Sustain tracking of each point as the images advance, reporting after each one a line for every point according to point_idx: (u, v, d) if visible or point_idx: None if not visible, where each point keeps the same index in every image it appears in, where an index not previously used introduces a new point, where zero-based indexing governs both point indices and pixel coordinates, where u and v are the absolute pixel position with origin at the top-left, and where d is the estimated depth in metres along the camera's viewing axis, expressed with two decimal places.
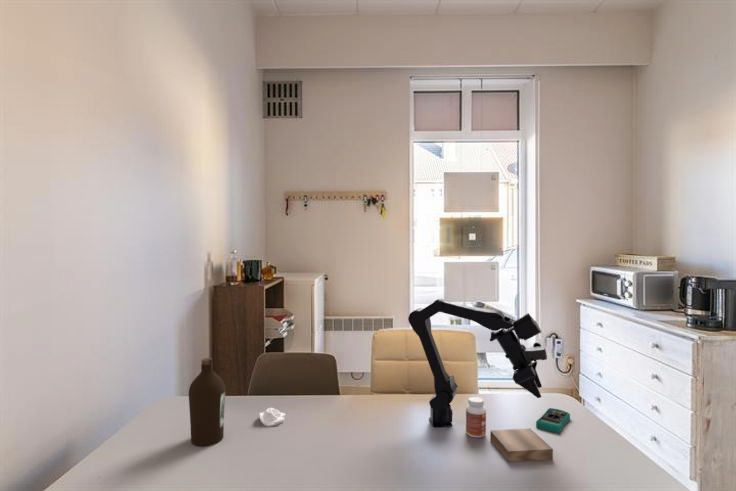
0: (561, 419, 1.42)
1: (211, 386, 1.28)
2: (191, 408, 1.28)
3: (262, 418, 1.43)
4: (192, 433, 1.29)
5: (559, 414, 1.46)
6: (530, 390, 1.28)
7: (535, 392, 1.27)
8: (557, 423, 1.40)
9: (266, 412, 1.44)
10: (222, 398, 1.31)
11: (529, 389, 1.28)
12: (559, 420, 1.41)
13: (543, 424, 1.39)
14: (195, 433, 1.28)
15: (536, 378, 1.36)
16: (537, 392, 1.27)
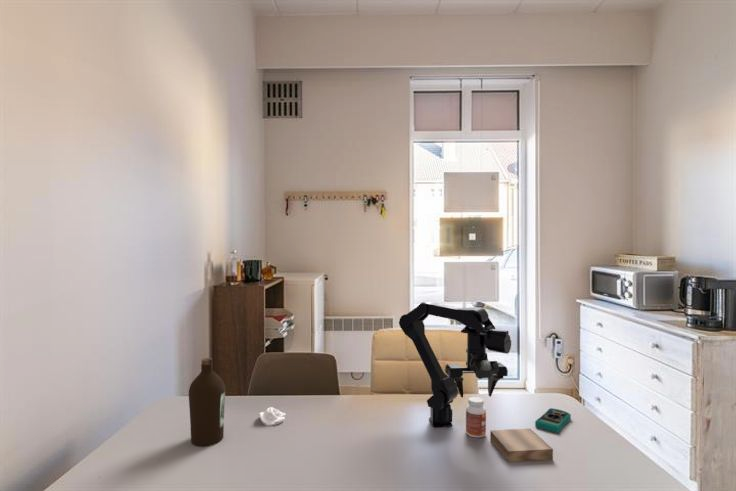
0: (561, 419, 1.42)
1: (211, 386, 1.28)
2: (191, 408, 1.28)
3: (262, 417, 1.43)
4: (192, 433, 1.29)
5: (559, 414, 1.46)
6: (457, 386, 1.36)
7: (460, 391, 1.35)
8: (556, 423, 1.40)
9: (266, 412, 1.45)
10: (222, 398, 1.31)
11: (457, 384, 1.36)
12: (559, 420, 1.41)
13: (542, 424, 1.39)
14: (195, 433, 1.28)
15: (490, 387, 1.36)
16: (460, 392, 1.35)
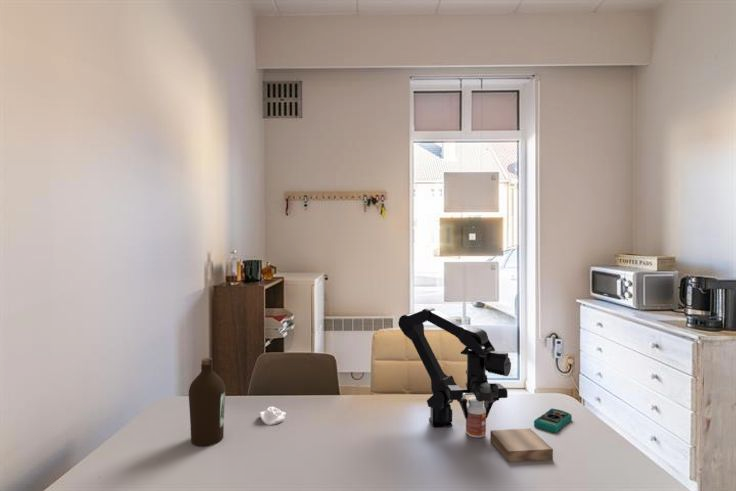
0: (560, 419, 1.42)
1: (211, 386, 1.28)
2: (191, 408, 1.28)
3: (263, 417, 1.44)
4: (192, 433, 1.29)
5: (560, 414, 1.46)
6: (461, 407, 1.37)
7: (464, 412, 1.36)
8: (555, 423, 1.40)
9: (267, 411, 1.45)
10: (222, 398, 1.31)
11: (461, 406, 1.37)
12: (558, 420, 1.41)
13: (540, 423, 1.40)
14: (195, 433, 1.28)
15: (486, 409, 1.36)
16: (464, 413, 1.35)
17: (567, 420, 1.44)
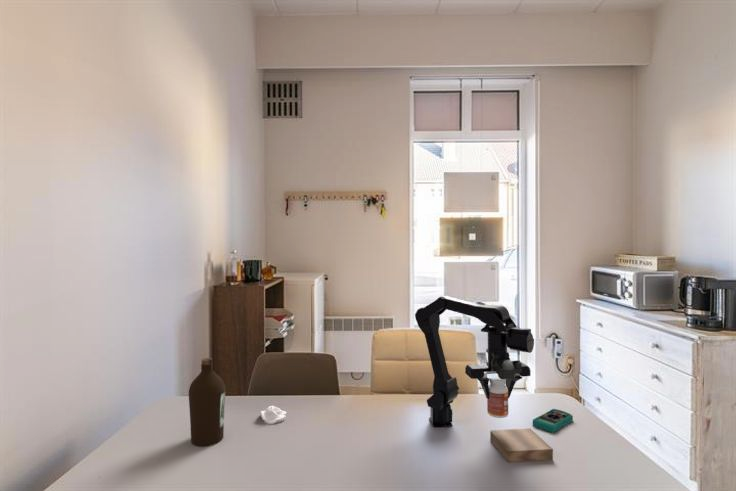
0: (560, 420, 1.42)
1: (211, 386, 1.28)
2: (191, 408, 1.28)
3: (263, 416, 1.45)
4: (192, 433, 1.29)
5: (560, 415, 1.46)
6: (482, 387, 1.31)
7: (485, 392, 1.31)
8: (554, 423, 1.40)
9: (267, 410, 1.46)
10: (222, 398, 1.31)
11: (482, 386, 1.32)
12: (557, 420, 1.41)
13: (539, 423, 1.40)
14: (195, 433, 1.28)
15: (508, 388, 1.31)
16: (485, 393, 1.30)
17: (567, 421, 1.43)
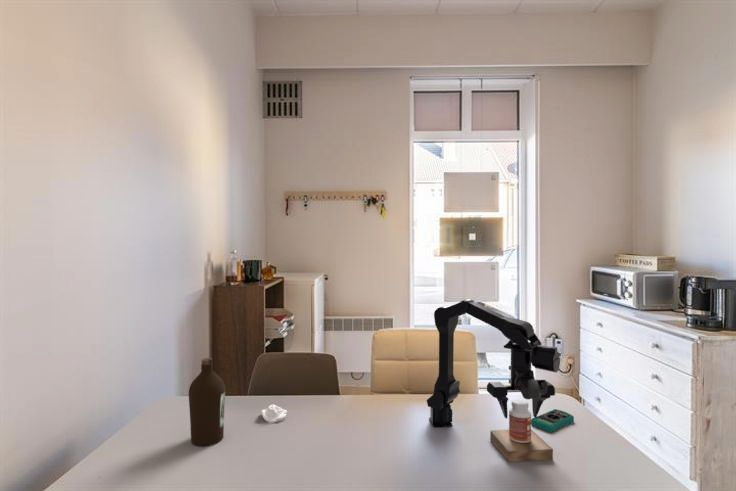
0: (559, 420, 1.42)
1: (211, 386, 1.28)
2: (191, 408, 1.28)
3: (264, 415, 1.46)
4: (192, 433, 1.29)
5: (561, 415, 1.45)
6: (500, 406, 1.26)
7: (503, 411, 1.26)
8: (552, 423, 1.40)
9: (268, 409, 1.47)
10: (222, 398, 1.31)
11: (500, 404, 1.27)
12: (556, 420, 1.41)
13: (537, 422, 1.41)
14: (195, 433, 1.28)
15: (535, 407, 1.26)
16: (504, 412, 1.25)
17: (567, 421, 1.43)
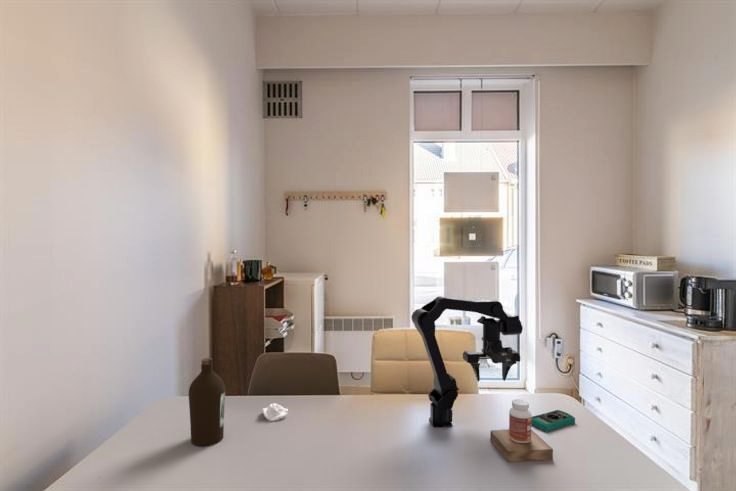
0: (558, 420, 1.41)
1: (211, 386, 1.28)
2: (191, 408, 1.28)
3: (265, 413, 1.47)
4: (192, 433, 1.29)
5: (561, 416, 1.45)
6: (474, 371, 1.48)
7: (476, 375, 1.47)
8: (550, 422, 1.40)
9: (269, 407, 1.48)
10: (222, 398, 1.31)
11: None
12: (554, 420, 1.41)
13: (534, 421, 1.42)
14: (195, 433, 1.28)
15: (504, 372, 1.48)
16: (476, 376, 1.47)
17: (567, 422, 1.42)
